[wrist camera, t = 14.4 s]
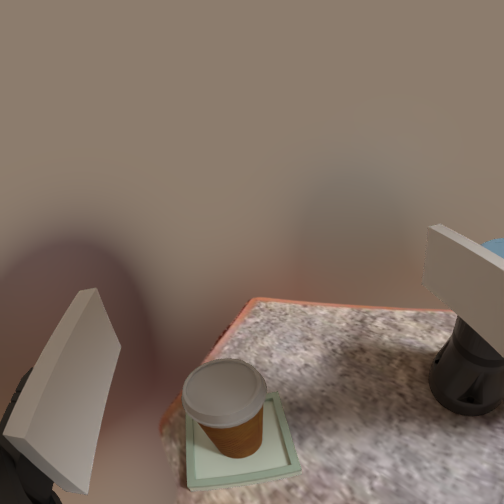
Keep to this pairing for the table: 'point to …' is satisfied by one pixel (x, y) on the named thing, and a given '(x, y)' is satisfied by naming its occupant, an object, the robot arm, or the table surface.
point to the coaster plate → (244, 469)
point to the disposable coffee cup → (227, 405)
